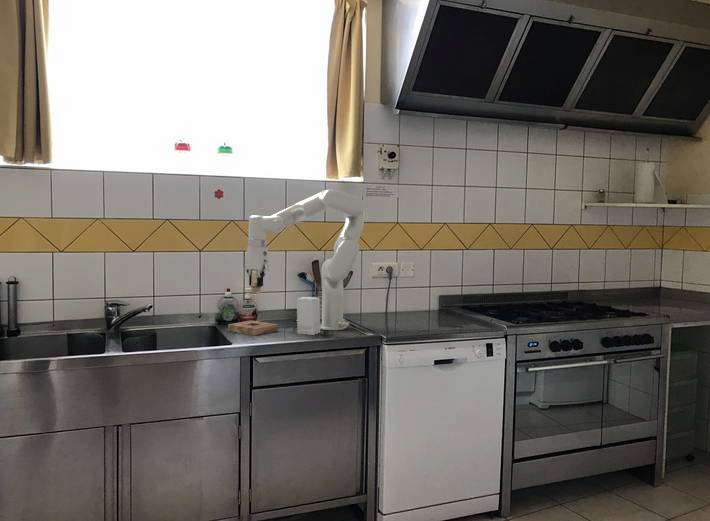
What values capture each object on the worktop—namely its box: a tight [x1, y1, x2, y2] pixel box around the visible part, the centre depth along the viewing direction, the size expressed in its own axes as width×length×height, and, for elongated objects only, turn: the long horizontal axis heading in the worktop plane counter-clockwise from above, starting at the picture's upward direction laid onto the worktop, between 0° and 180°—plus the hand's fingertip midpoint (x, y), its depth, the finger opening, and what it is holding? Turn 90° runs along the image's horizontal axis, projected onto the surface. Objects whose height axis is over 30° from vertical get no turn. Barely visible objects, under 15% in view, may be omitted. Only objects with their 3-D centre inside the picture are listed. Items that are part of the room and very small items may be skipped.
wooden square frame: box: [227, 320, 279, 336], centre depth 260 cm, size 16×14×3 cm
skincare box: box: [296, 296, 321, 336], centre depth 256 cm, size 8×7×16 cm
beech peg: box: [250, 270, 262, 295], centre depth 260 cm, size 4×4×10 cm
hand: (256, 285), depth 261 cm, fingers closed on beech peg, 4 cm apart
